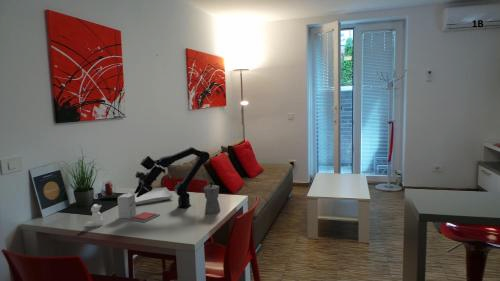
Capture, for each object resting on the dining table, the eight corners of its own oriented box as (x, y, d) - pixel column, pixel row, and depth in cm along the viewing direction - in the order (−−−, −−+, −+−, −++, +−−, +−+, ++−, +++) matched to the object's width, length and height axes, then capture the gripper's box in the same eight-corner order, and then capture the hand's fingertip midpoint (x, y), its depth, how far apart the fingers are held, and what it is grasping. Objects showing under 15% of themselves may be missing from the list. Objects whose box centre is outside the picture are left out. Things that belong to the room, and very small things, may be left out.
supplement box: (130, 218, 203) (128, 197, 201) (118, 218, 204) (116, 197, 203) (136, 214, 210) (135, 193, 208) (125, 213, 211) (123, 193, 210)
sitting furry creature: (99, 221, 201) (97, 200, 199) (109, 223, 196) (107, 202, 195) (84, 226, 193) (82, 205, 191) (94, 228, 188) (92, 207, 187)
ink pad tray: (159, 215, 205) (159, 213, 205) (145, 222, 195) (145, 220, 195) (143, 213, 211) (143, 211, 210) (129, 220, 200) (129, 217, 200)
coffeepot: (222, 214, 203) (220, 184, 201) (206, 216, 201) (204, 185, 199) (218, 206, 218) (217, 178, 216) (203, 208, 216) (201, 179, 214)
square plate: (127, 197, 250) (127, 192, 249) (165, 191, 261) (165, 186, 260) (131, 207, 225) (131, 201, 225) (174, 200, 236) (173, 194, 236)
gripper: (140, 164, 216) (123, 183, 213) (145, 169, 200) (126, 190, 196) (154, 174, 221) (138, 194, 217) (160, 180, 204) (142, 202, 200)
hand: (135, 195), depth 208 cm, fingers open, 9 cm apart
